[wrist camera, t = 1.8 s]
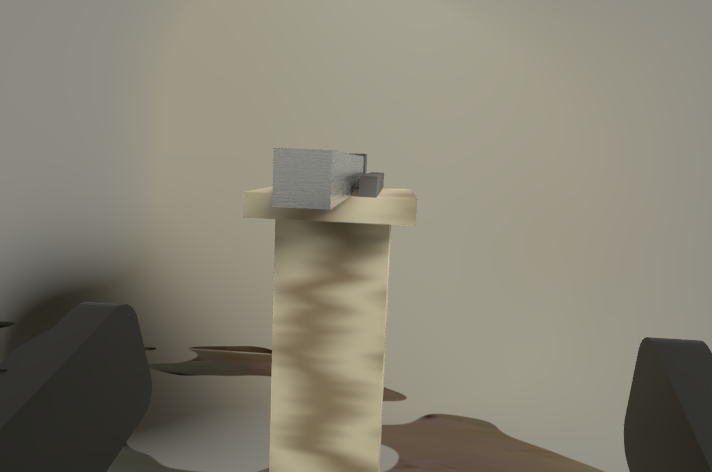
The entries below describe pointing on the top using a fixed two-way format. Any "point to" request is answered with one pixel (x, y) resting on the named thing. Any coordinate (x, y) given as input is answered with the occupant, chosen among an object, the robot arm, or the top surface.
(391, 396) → the top surface
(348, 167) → the grey metal block
